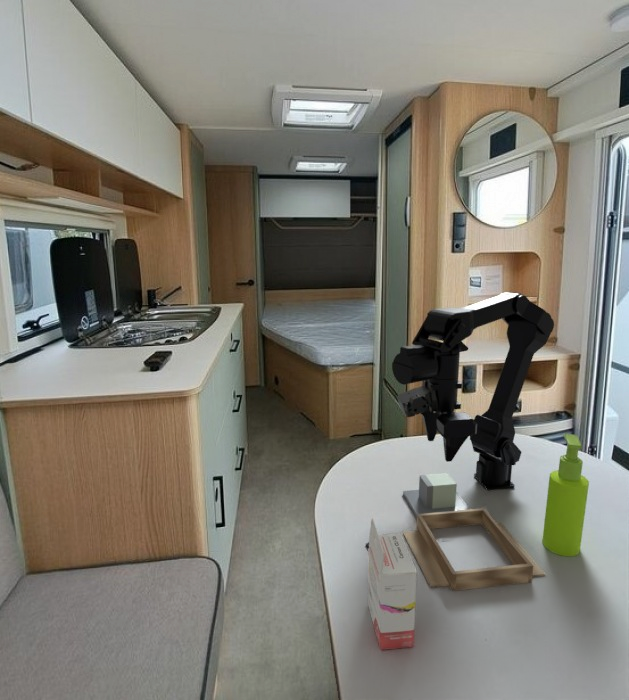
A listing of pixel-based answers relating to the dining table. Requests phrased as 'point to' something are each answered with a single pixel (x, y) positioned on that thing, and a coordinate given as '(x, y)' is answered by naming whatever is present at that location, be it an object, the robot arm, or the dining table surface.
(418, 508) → the coaster
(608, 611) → the dining table surface
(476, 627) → the dining table surface
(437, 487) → the box
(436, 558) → the wooden frame
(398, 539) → the ink cartridge box
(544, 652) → the dining table surface
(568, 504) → the soap dispenser
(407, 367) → the robot arm
